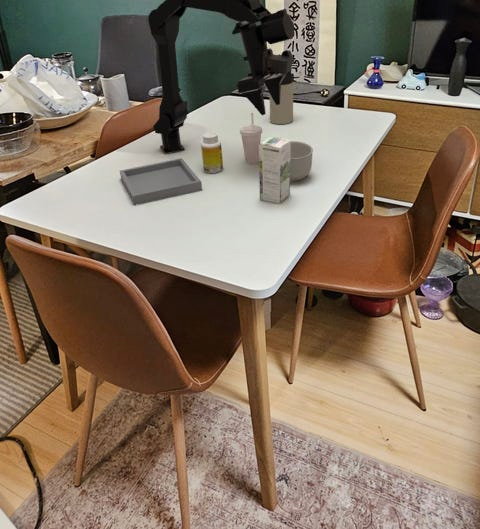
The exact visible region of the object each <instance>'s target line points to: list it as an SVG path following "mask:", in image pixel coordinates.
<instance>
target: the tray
mask: <svg viewBox="0 0 480 529" xmlns="http://www.w3.org/2000/svg"><path fill="white" fill-rule="evenodd" d="M119 174H120V179H121V181H122V183H123V185H124V188H125V189H126V191H127V194H128V196H129V197H130V199H131V201H132V203H133V205H134V206H137V205H136V204H138V205H142V204H145V203H150V202H155V201H159V200H164V199H169V198H173V197H177V196H182V195H186V194H190V193H195V192H200V191H203V186H202V185H203V184H202V180H201V179H200V178H199V177H198V175H197V174H196V173H195V172H194V171H193V169H192V168H191V167H190V165H188V164H187V163H186V161H185V160H184V158H182V157H180V158H176V159H170V160H166V161H160V162H155V163H151V164H145V165H140V166H136V167H135V166H134V167H131V168H125V169H121V170H119ZM141 203H142V204H141Z"/></svg>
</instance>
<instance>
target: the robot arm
mask: <svg viewBox="0 0 480 529" xmlns="http://www.w3.org/2000/svg"><path fill="white" fill-rule="evenodd" d="M187 8H189V9H196V10H201V11H202V10H203V11H207V12H215V13H220V14H222V15H224V16H226V17H227V18H228V19H230V20H234V21H236V23H235V26H234V28H233V29H232V31H231V34H232V35H234V36H235V35H237V34H240V37H241V41H242V45H243V48H244V49H243V50H244V52H245V56H243V57H242V58H243V61H244V62H247V64H248V68H249V72H248V73H247V77H243V78H241V79H240V80H238V81H237V84H236V89H237V92H238V94H241V95H242V96H244V97H245V98H246V99H247V100H248V101H249V102H250V103H251V105H252V106H253V107H254V108H255V109H256V110H257V111H258V112H259V114H260V115H261V116H265V115H266V112H267V111H266V105H265V99H264V98H265V97H264V92H265V90H266V89H267V90H268V93H270V95H271V97H272V99H273V100H274V102H275V104H276V105H279V104H280V95H281V82H282V80H283V79H284V77H285V76H286V74H287V73H288V72H289V71H291V72H292V70H293V64H294V63H295V59H294V56H293V53H292V51H291V50H288V49H285V50H283V51H282V53H281V54H274V51H273V49H271V48H268V44H269V45H275V44H277V43H282V42H285V41H289V40H292V39H293V38H294V36H295V23H294V20H293V21H292V17H291V16H290V14H289V13H288V12H287V8H283V9H280V10H278V11H275V12H273V13H272V12H270V11H269V10H268V8H266V6H264V5H263V3H261V1H260V0H164V1H163V2H162V3H161V4H160V5H158V7H156V8H154V9H153V10H151V12H150V13H149V14H148V17H147V19H148V20H147V22H148V26H149V27H148V28H149V31H150V34H151V36H152V38H153V40H154V41H155V43H156V46H157V52H158V53H157V54H158V62H159V72H160V83H161V91H162V98H161V101H160V104H159V106H158V107H159V108H158V109H159V110H158V120H157V121H156V122H155V124H153V126H152V127H153V131H154V132H155V134H158V135H159V134H160V136H161V137H160V138H161V145H160V146H159V148H160V149H161V151H162V152H163V153H164V154H170V153H175V152H176V153H177V152H181V151H185V150H186V149H185V147H184V146H183V144H182V142H181V141H182V140H181V134H180V128H183V127H184V125H185V121H187V120H186V119H187V118H188V115H189V110H188V101H187V100H183V99H182V98H183V97H182V96H181V94H180V85H179V74H178V62H177V52H176V51H177V50H176V42H177V39H178V34H179V33H180V32H179V31H180V19H181V18H182V17H183V16H184V15H185V14H186V11H187ZM244 22H246V23H244ZM259 22H260V23H259ZM258 23H259V24H258ZM267 43H268V44H267ZM282 74H283V75H282ZM270 95H269V96H270Z"/></svg>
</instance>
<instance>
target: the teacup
mask: <svg viewBox="0 0 480 529" xmlns="http://www.w3.org/2000/svg"><path fill="white" fill-rule="evenodd" d="M290 141H291V157H290V182H298V181H301V180H302V179H304V178H306V176H308V175H309V174H310V173H311V171H312V166H313V165H312V164H313V152H314V148H313V147H312V146H311V145H310V144H308V143H306V142H302V141H298V140H297V141H295V140H294V141H293V140H290Z"/></svg>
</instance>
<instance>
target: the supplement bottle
mask: <svg viewBox="0 0 480 529" xmlns="http://www.w3.org/2000/svg"><path fill="white" fill-rule="evenodd" d="M218 136H219V135H218V133H217V132H207V133H204V134H203V136H202V137H203V138H202V141H201V143H200V148H201V149H200V150H201V151H200V152H201V158H202V167H203V171H204V172H205V173H209V174H217V173H219V172H221V171H222V170H223V169H224V164H223V150H222V142H221V140H219V137H218Z"/></svg>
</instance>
